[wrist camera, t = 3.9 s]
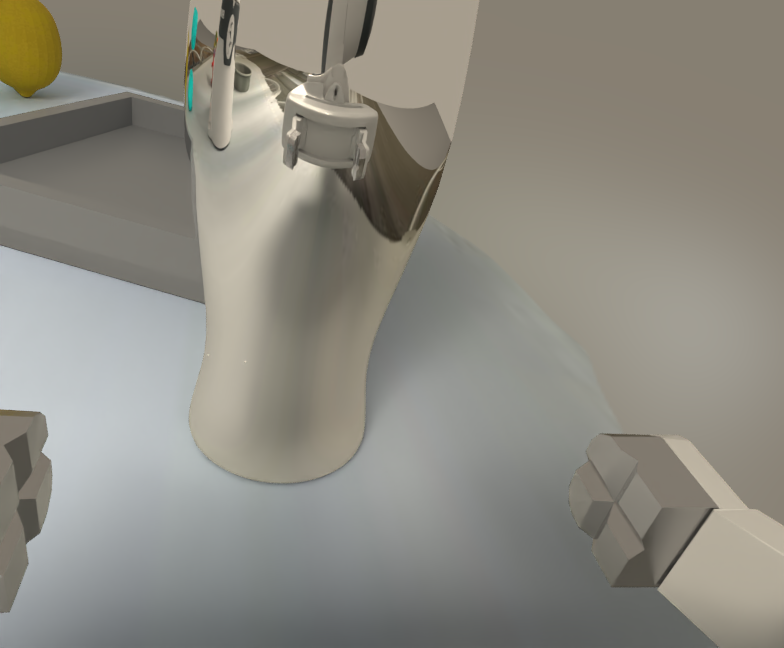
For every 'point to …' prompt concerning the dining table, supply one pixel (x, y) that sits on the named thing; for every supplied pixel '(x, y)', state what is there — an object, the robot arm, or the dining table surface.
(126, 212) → the tray
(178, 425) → the dining table surface
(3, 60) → the lemon
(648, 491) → the robot arm
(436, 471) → the dining table surface
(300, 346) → the beer glass
